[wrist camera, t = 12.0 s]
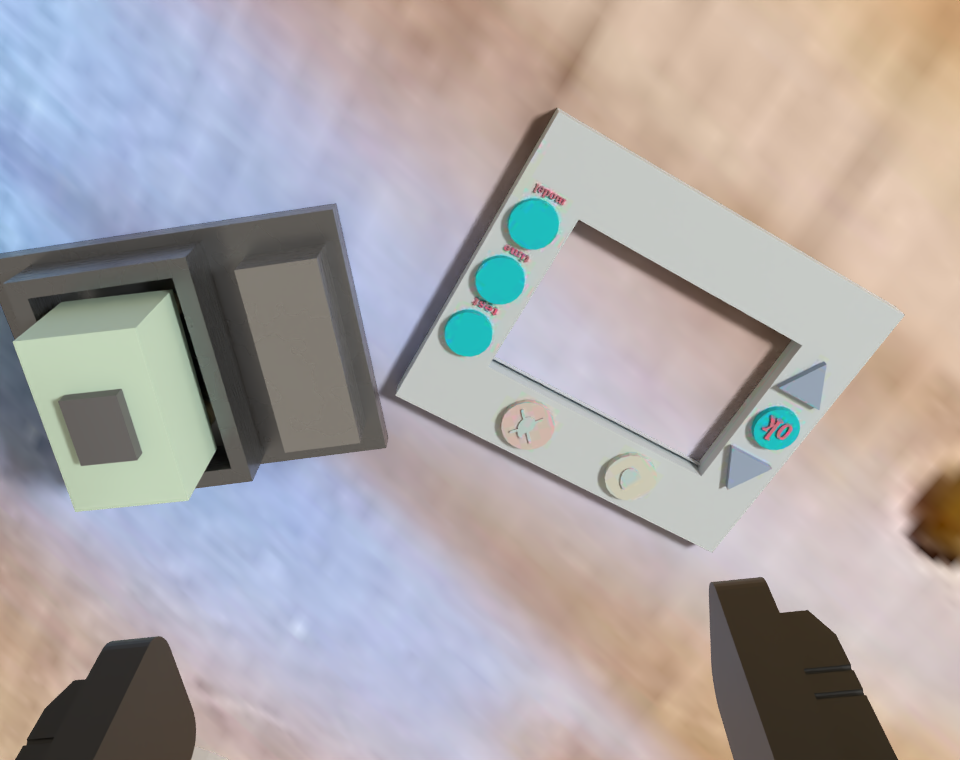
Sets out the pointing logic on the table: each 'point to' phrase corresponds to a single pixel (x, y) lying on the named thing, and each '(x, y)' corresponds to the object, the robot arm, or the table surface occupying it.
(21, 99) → the table surface
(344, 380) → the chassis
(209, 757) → the flag stand
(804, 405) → the electronic device
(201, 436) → the module
